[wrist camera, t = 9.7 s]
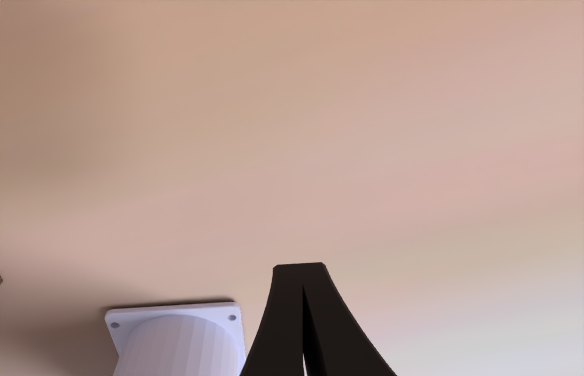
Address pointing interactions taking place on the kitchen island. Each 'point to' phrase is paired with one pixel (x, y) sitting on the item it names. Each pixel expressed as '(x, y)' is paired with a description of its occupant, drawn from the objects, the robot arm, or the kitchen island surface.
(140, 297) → the kitchen island surface
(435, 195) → the kitchen island surface
